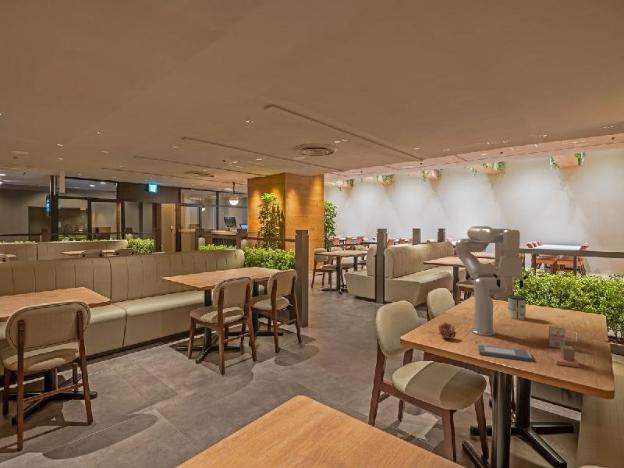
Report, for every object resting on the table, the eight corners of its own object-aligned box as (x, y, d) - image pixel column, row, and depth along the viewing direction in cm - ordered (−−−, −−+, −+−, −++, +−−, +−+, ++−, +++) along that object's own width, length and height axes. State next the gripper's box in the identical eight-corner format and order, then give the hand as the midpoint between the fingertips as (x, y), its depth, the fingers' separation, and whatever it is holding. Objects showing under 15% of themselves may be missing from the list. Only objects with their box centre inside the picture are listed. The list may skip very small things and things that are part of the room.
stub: (551, 356, 169) (551, 342, 168) (571, 358, 166) (572, 345, 165) (556, 364, 159) (557, 349, 159) (578, 367, 156) (579, 352, 156)
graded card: (552, 337, 196) (554, 329, 210) (552, 338, 196) (554, 330, 210) (576, 341, 190) (577, 332, 204) (576, 342, 190) (576, 333, 204)
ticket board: (478, 347, 180) (478, 344, 180) (528, 354, 172) (528, 350, 172) (479, 354, 171) (479, 351, 171) (532, 361, 163) (532, 357, 163)
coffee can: (512, 315, 243) (512, 294, 242) (528, 318, 234) (529, 297, 234) (504, 317, 237) (504, 296, 236) (520, 321, 228) (521, 299, 228)
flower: (432, 332, 199) (436, 323, 194) (444, 327, 203) (449, 318, 198) (444, 346, 192) (448, 337, 188) (456, 341, 196) (461, 332, 191)
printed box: (548, 344, 186) (549, 325, 185) (564, 347, 182) (565, 327, 181) (548, 346, 183) (549, 327, 182) (564, 349, 179) (565, 329, 178)
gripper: (492, 254, 180) (491, 287, 181) (532, 255, 174) (530, 290, 175) (490, 252, 187) (489, 285, 188) (529, 254, 181) (527, 287, 182)
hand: (509, 287), depth 181 cm, fingers open, 9 cm apart
